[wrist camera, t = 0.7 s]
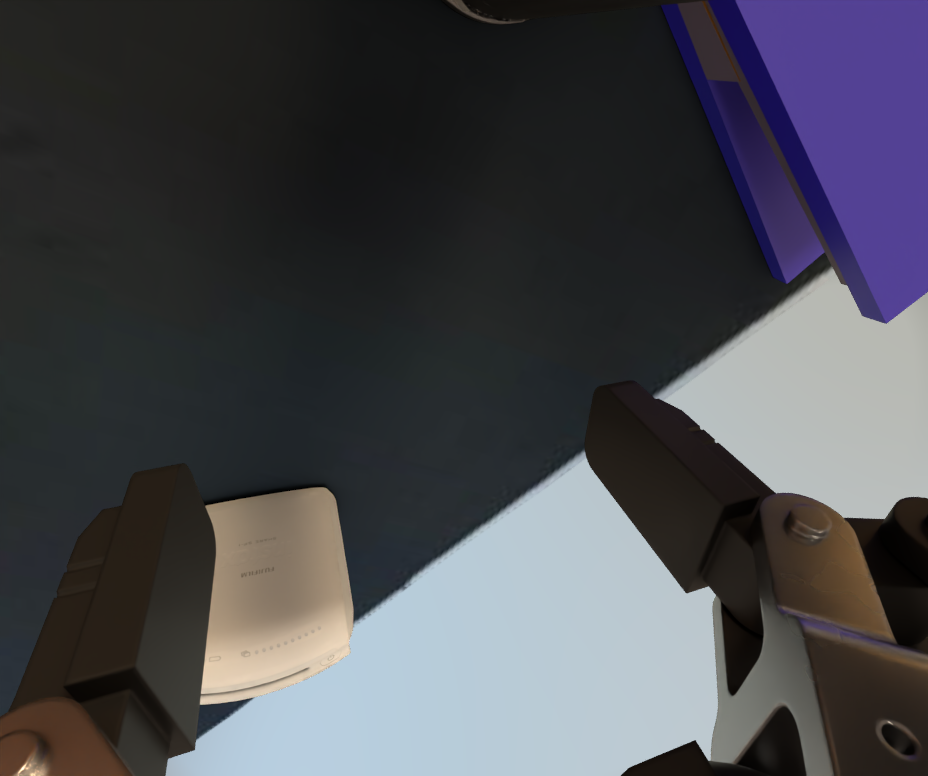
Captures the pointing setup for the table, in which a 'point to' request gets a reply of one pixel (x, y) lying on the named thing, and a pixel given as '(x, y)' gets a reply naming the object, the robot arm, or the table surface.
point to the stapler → (822, 132)
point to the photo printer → (275, 594)
